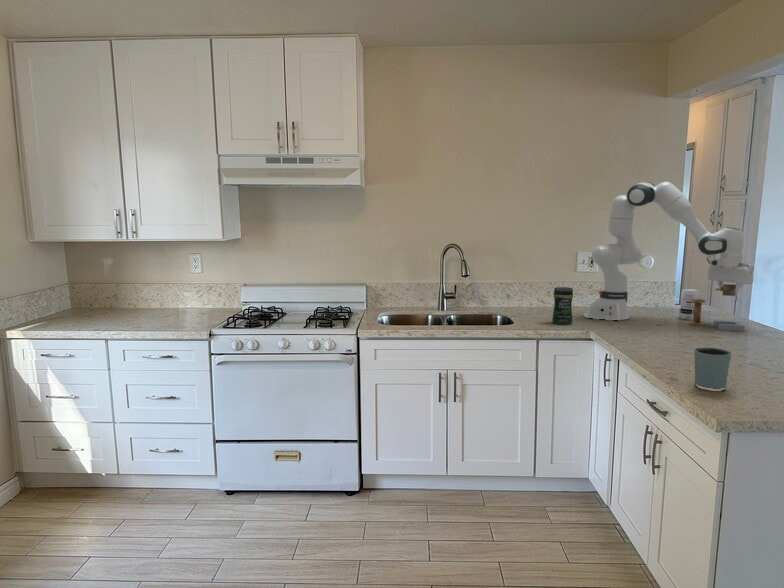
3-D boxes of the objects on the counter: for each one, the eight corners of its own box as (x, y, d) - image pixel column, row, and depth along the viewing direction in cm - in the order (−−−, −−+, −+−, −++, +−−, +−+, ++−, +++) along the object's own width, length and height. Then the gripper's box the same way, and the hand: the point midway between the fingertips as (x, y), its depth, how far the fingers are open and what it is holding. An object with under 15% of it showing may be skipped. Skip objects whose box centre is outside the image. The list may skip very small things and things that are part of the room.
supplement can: (693, 317, 282) (694, 288, 280) (700, 320, 274) (702, 291, 272) (676, 317, 283) (678, 288, 281) (683, 320, 275) (685, 291, 273)
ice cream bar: (715, 295, 254) (716, 284, 253) (715, 294, 256) (715, 283, 256) (735, 295, 250) (736, 285, 249) (734, 295, 253) (735, 284, 252)
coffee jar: (553, 324, 270) (554, 288, 267) (551, 321, 278) (552, 286, 275) (573, 325, 268) (574, 288, 266) (571, 322, 276) (572, 286, 273)
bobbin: (690, 325, 263) (691, 301, 261) (687, 322, 269) (688, 298, 268) (706, 325, 261) (708, 301, 259) (703, 322, 267) (704, 299, 265)
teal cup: (694, 390, 170) (697, 353, 168) (689, 381, 179) (692, 345, 177) (731, 393, 166) (734, 356, 164) (724, 383, 175) (727, 348, 174)
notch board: (719, 330, 251) (719, 324, 251) (713, 325, 261) (713, 320, 261) (744, 331, 248) (744, 325, 248) (737, 326, 258) (737, 321, 258)
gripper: (757, 263, 242) (755, 294, 244) (716, 260, 261) (714, 288, 263) (747, 264, 240) (745, 295, 242) (706, 261, 258) (704, 289, 260)
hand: (728, 291), depth 252 cm, fingers closed on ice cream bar, 6 cm apart
